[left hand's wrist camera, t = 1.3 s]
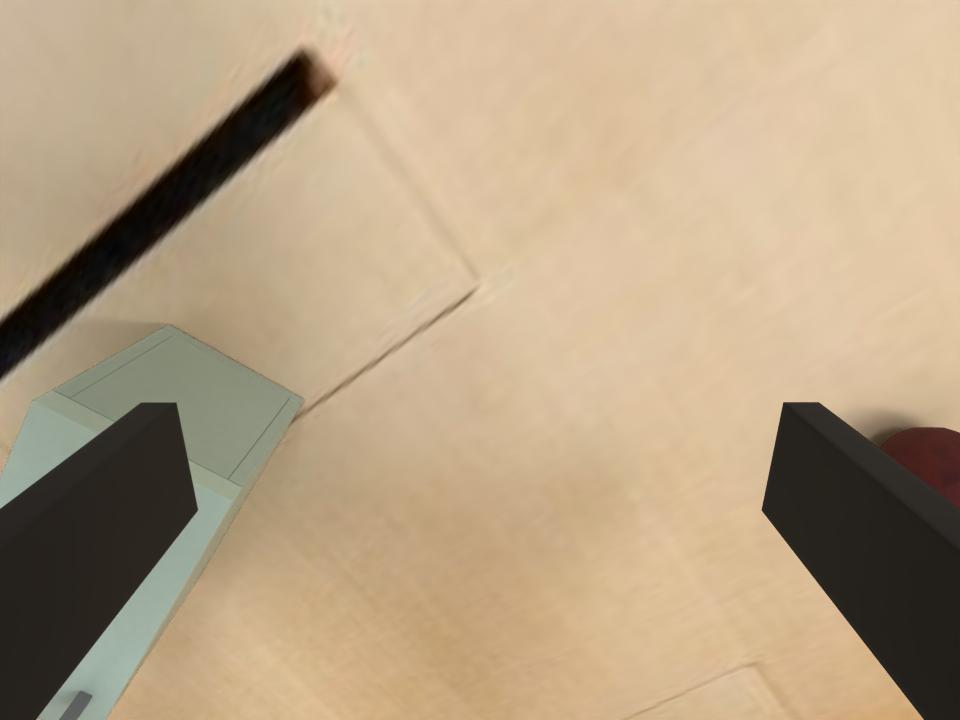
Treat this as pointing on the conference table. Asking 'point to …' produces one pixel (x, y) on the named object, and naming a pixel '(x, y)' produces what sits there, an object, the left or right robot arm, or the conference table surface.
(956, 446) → the dark maroon ball
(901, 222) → the conference table surface
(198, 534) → the lid
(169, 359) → the chest
